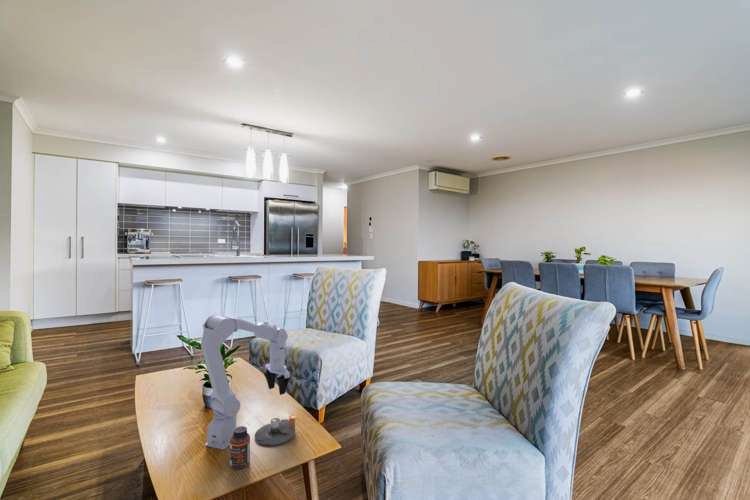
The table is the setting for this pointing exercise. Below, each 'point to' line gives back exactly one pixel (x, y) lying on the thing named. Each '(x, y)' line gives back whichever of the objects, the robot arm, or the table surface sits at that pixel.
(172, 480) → the table surface
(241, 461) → the supplement bottle
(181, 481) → the table surface
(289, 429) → the plate
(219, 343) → the robot arm
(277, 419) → the crank
